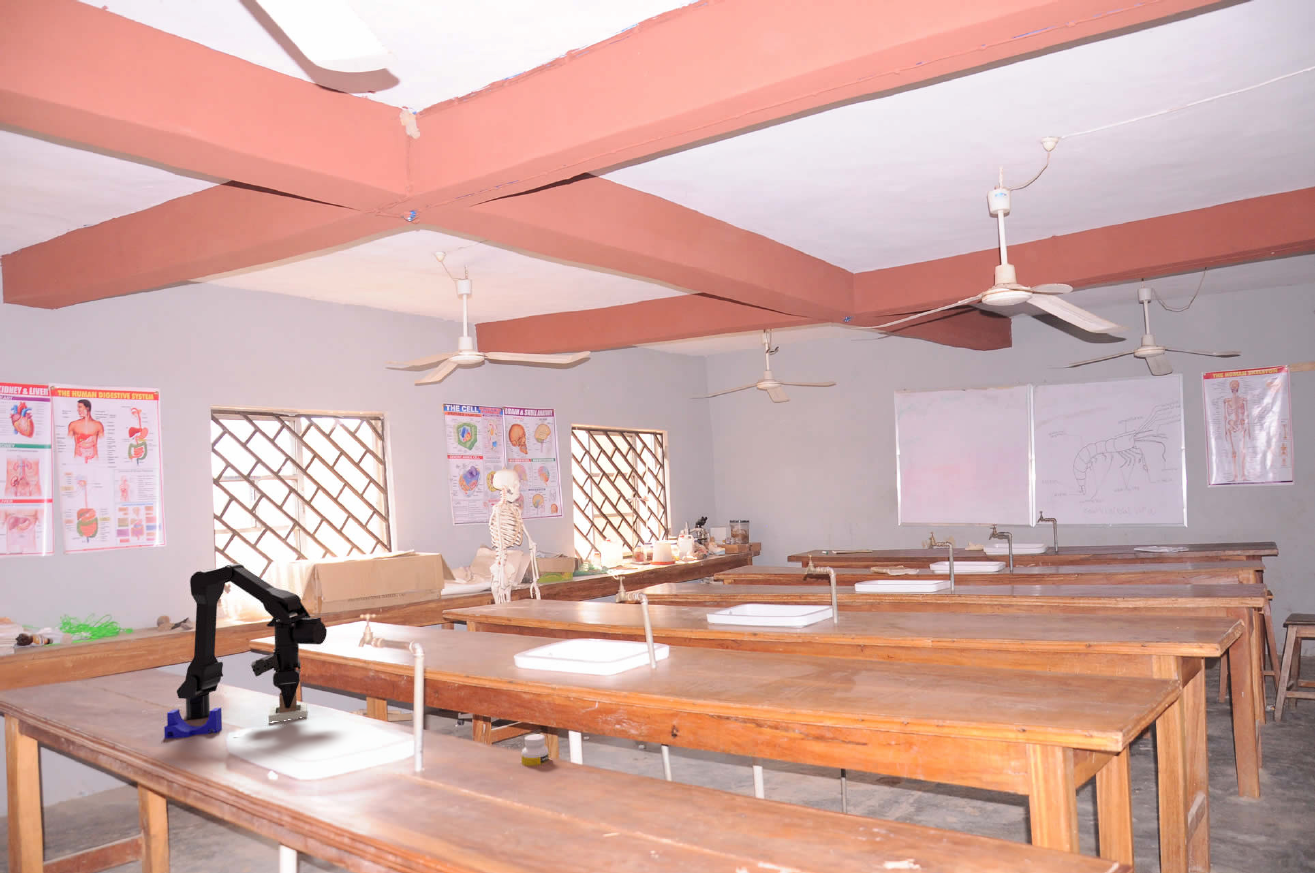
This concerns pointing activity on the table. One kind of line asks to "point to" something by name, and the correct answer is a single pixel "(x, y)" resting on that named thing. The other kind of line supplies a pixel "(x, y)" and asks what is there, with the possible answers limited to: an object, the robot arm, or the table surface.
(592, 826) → the table surface
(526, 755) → the supplement bottle
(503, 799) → the table surface
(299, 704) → the frame
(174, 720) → the cable clip
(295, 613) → the robot arm
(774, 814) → the table surface
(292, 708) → the walnut peg block
